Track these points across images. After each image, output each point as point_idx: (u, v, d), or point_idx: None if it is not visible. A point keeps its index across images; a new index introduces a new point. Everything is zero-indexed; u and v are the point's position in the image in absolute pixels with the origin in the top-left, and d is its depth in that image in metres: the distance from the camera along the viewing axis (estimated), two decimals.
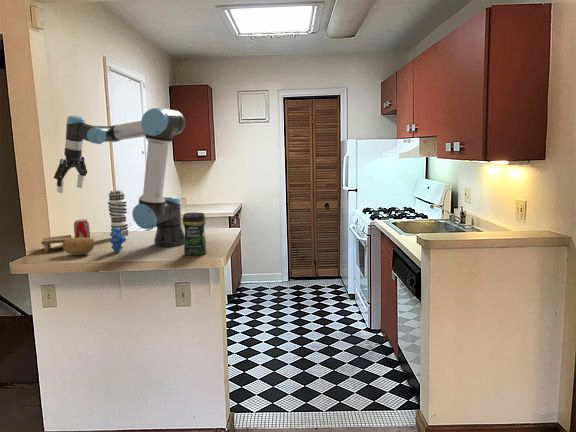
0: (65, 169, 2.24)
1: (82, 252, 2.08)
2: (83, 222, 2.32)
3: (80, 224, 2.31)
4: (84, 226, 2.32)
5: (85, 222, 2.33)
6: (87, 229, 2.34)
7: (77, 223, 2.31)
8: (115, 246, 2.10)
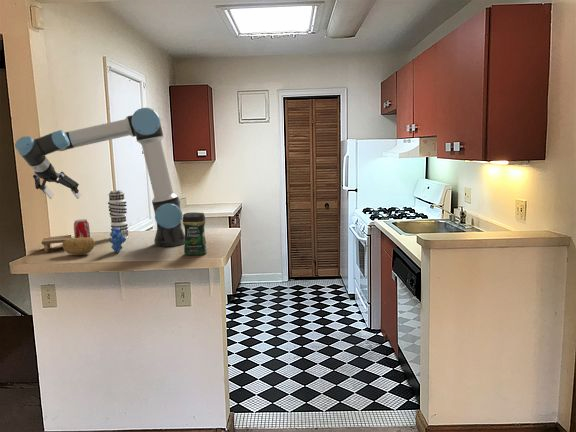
0: None
1: (82, 252, 2.08)
2: (83, 222, 2.32)
3: (80, 224, 2.31)
4: (84, 226, 2.32)
5: (85, 222, 2.33)
6: (87, 229, 2.34)
7: (77, 223, 2.31)
8: (115, 246, 2.10)
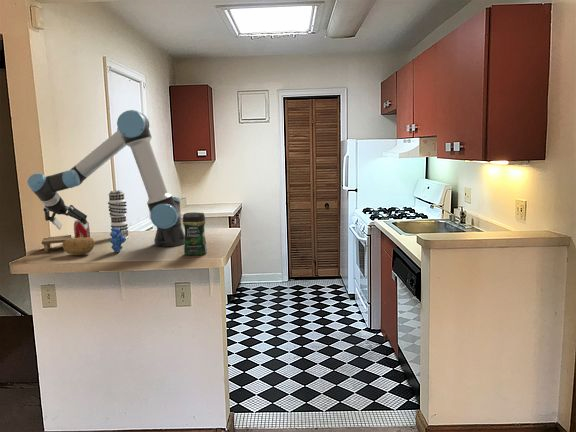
0: (72, 212, 2.21)
1: (82, 252, 2.08)
2: None
3: (80, 224, 2.31)
4: None
5: None
6: (87, 229, 2.34)
7: (77, 223, 2.31)
8: (115, 246, 2.10)
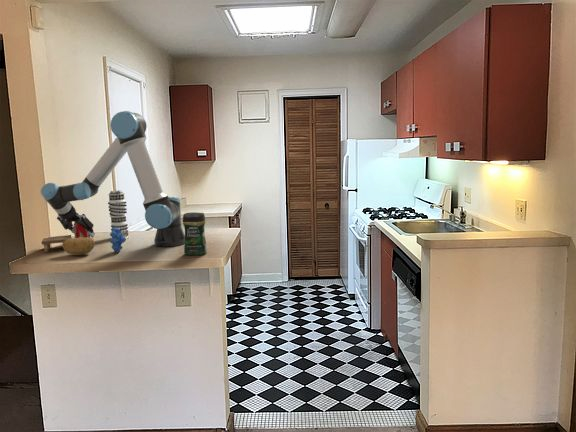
0: (82, 220, 2.29)
1: (82, 252, 2.08)
2: None
3: None
4: None
5: None
6: None
7: (77, 223, 2.31)
8: (115, 246, 2.10)
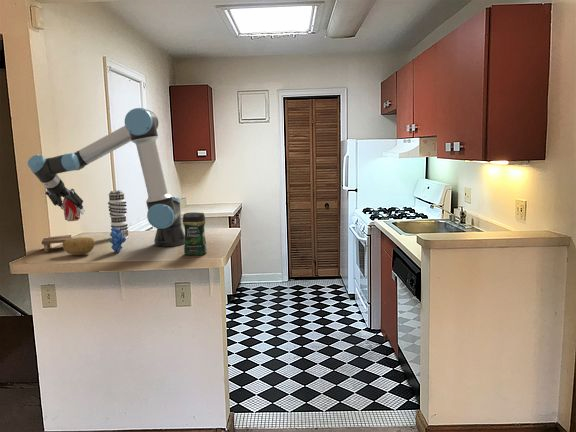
0: (71, 196, 2.24)
1: (82, 252, 2.08)
2: None
3: None
4: None
5: None
6: None
7: (66, 199, 2.27)
8: (115, 246, 2.10)
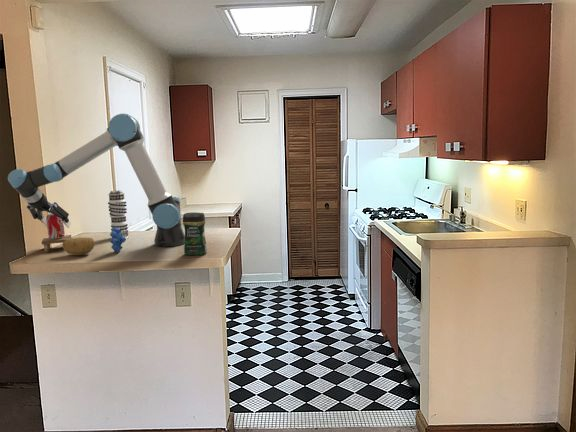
0: (55, 210, 2.17)
1: (82, 252, 2.08)
2: None
3: (52, 218, 2.20)
4: (57, 219, 2.21)
5: None
6: (60, 223, 2.22)
7: (49, 217, 2.20)
8: (115, 246, 2.10)
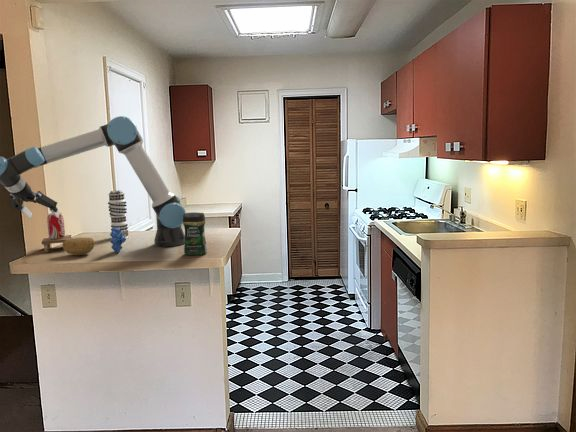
0: None
1: (82, 252, 2.08)
2: None
3: (53, 217, 2.20)
4: (58, 219, 2.21)
5: (59, 215, 2.22)
6: (61, 223, 2.22)
7: (50, 216, 2.20)
8: (115, 246, 2.10)
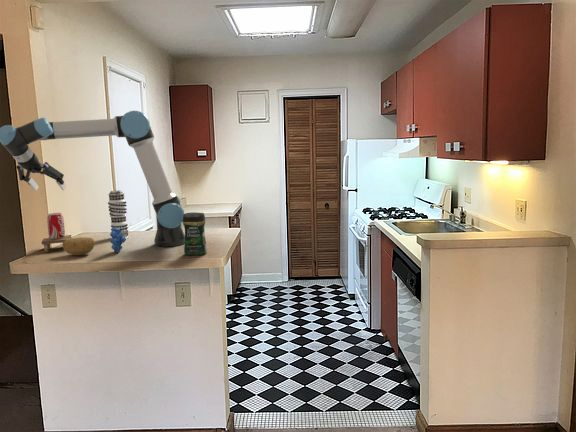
0: (48, 170, 2.07)
1: (82, 252, 2.08)
2: (57, 215, 2.21)
3: (53, 217, 2.20)
4: (58, 219, 2.21)
5: (59, 215, 2.22)
6: (61, 223, 2.22)
7: (50, 216, 2.20)
8: (115, 246, 2.10)
